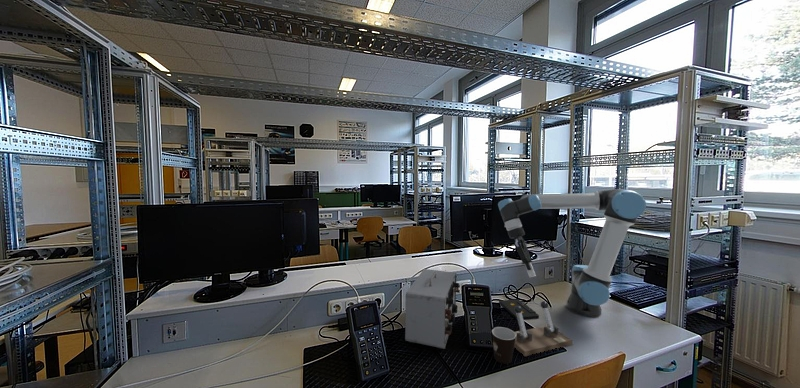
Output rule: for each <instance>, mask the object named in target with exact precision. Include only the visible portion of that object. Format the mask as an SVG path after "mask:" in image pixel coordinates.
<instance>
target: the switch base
mask: <svg viewBox="0 0 800 388" xmlns="http://www.w3.org/2000/svg"><path fill="white" fill-rule="evenodd" d="M553 328H554V329H555V332H552V333H551V330H550V329H549V328H548V327H547V325H544V326H539V327H533V328H529V329H526V332H527V334H528V338H525V339H523V335H522V334H521V332H520V330H517V331H513V332H514V333H515V334H516V339H515V345H514V349H515V348H516V350H517V351H518V352H519V353H520V354H521V353H522V354H523V355H522V354H521V355H522V356H524V357H529V356H532V354H533V355H535V354H536V353H537V354H540V352H541V353H544V351H545V352H549V351H552V349H553V350H556V349H555V348H557V349H561V348H564V347H569V346H572V345H573V340H572V339H571V338H569V337H568V336H567V335H565V334H563V333H561V331H559V329H560V328H559V327H558V326H556V325H554V324H553ZM560 347H561V348H560ZM548 350H549V351H548Z"/></svg>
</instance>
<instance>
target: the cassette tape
mask: <svg viewBox="0 0 800 388" xmlns="http://www.w3.org/2000/svg"><path fill="white" fill-rule="evenodd" d="M499 303H500V304H501V305H500V304H499ZM498 304H499V305H500V306H502V307H503V308H504V309H505V310H506V311H507V312H508V314H510V315H512V317H513V318H514V319H515V320H517V321H518V319H517V315H516V312H515V311H514V308H515V307H516V306H520V307H521V309H522V316H523V320H524V321H525V320H533V319H534V320H536V319H539V318H540V315H539V314H538V313H536V311H535V310H534V309H532V308H531V307H530V306H528V305H527V304H526V303H525V302H523V301H522V300H520V299H519V298H517V299H504V300H499V301H498Z"/></svg>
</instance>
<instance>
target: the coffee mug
mask: <svg viewBox="0 0 800 388" xmlns="http://www.w3.org/2000/svg"><path fill="white" fill-rule="evenodd" d="M490 329H491V336H492V346H493V348H492V349H493V358H494V360H495V361H497V362H499V363H500V364H505V365H509V364H511V363H512V361H513V357H514V356H513V355H514V349H515V348H514V345H515V339H516V334H515V333H514V332H515V331H514V330H512V329H510V328H508V327H502V326H495V327H494V326H492V327H491V328H490Z"/></svg>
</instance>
